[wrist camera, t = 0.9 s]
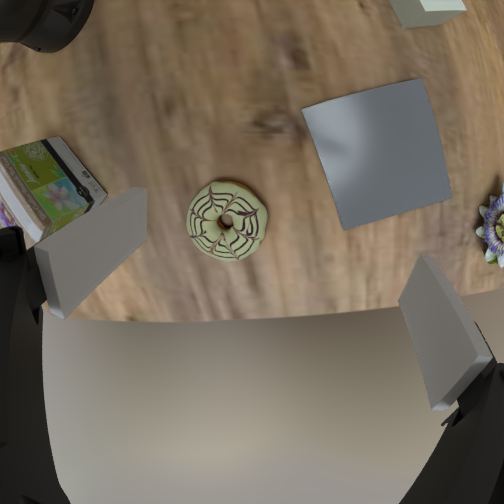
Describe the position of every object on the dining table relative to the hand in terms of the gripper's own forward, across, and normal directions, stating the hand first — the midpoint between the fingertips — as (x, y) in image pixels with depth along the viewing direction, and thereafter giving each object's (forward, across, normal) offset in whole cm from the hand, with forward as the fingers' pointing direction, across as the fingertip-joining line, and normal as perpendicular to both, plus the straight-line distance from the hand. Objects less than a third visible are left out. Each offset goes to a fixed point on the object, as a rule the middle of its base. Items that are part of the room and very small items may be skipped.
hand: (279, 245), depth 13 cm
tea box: (+25, -36, -9) cm, 45 cm away
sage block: (+25, +11, +26) cm, 37 cm away
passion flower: (+25, +32, +1) cm, 41 cm away
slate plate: (+25, +10, +4) cm, 27 cm away
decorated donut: (+25, -7, -10) cm, 28 cm away
